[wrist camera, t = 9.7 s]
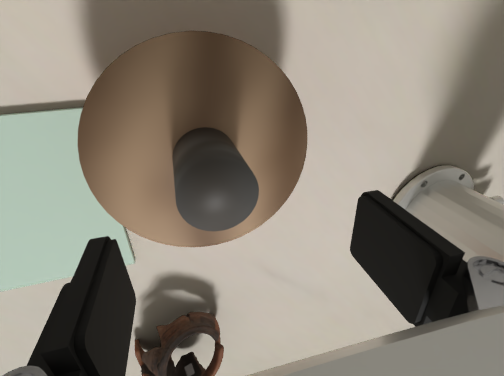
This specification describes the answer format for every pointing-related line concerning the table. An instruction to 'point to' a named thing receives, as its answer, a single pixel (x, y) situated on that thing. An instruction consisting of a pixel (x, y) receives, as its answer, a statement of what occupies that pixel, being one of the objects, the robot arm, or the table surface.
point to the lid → (192, 139)
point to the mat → (47, 200)
